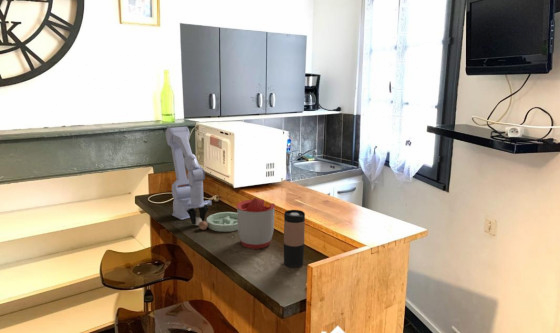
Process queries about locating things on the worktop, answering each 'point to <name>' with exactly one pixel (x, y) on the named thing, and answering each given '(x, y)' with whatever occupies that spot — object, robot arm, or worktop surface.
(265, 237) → the citrus juicer
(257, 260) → the worktop surface
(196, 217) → the ivory bead
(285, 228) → the travel mug
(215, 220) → the tray
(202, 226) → the terracotta bead
